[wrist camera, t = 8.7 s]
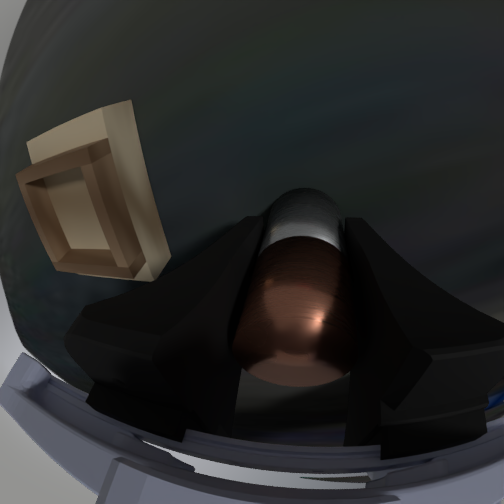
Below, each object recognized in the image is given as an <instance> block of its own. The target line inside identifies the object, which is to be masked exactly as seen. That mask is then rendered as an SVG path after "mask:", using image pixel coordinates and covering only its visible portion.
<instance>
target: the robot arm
mask: <svg viewBox="0 0 504 504" xmlns="http://www.w3.org/2000/svg"><path fill="white" fill-rule="evenodd" d="M263 236H264V223H263V216H247V217H245V218H244V219H243V220H241V221H240V222H239V223H238V224H236V225H235V226H234V227H233V228H232V229H231V230H229V231H228V232H227V233H226V234H224V235H223V236H222V237H221V238H220V239H218V240H217V241H216V242H214V243H213V244H212V245H210V246H209V247H208V248H206V249H205V250H204V251H202V252H201V253H200V254H198V255H197V256H195V257H194V258H193V259H191V260H189V261H188V262H186V263H185V264H183V265H181V266H180V267H178V268H176V269H175V270H173V271H171V272H169V273H167V274H165V275H163V276H161V277H159V278H157V279H155V280H154V281H152V282H150V283H147V284H145V285H143V286H141V287H138V288H136V289H134V290H131V291H129V292H126V293H124V294H121V295H118V296H115V297H112V298H109V299H106V300H103V301H100V302H97V303H94V304H90V305H86V306H85V307H84V308H83V310H82V311H81V313H80V314H79V316H78V317H77V318H76V320H75V321H74V323H73V324H72V326H71V327H70V329H69V330H68V332H67V333H66V335H65V336H64V344H65V347H66V349H67V351H68V353H69V354H70V355H71V357H72V358H73V359H74V360H75V362H76V363H77V364H78V365H79V366H80V367H81V368H82V369H83V370H84V371H85V372H86V373H87V375H88V376H89V377H90V378H91V379H92V380H93V381H94V382H95V383H94V385H93V387H92V389H91V391H90V393H89V394H88V393H85V392H83V391H81V390H79V389H77V388H75V387H73V386H71V385H69V384H67V383H65V382H63V381H61V380H60V379H58V378H56V377H54V376H52V375H51V373H50V372H49V371H48V370H47V369H46V368H45V367H44V366H43V365H42V364H41V363H40V362H38V361H37V360H36V359H34V358H32V357H30V356H29V355H27V354H26V353H21V355H20V357H19V358H18V359H17V361H16V363H15V364H14V366H13V368H12V369H11V371H10V372H9V374H8V376H7V378H6V379H5V381H4V383H3V384H2V386H1V388H0V405H1V406H2V407H3V408H4V409H5V410H6V412H7V413H8V414H9V415H10V416H11V417H12V418H13V419H14V420H15V421H16V422H17V423H18V424H19V425H20V427H21V428H22V429H23V430H24V431H25V432H26V433H27V434H28V435H29V436H30V437H31V439H32V440H33V441H34V442H35V443H36V444H37V445H38V446H39V447H40V448H41V449H42V450H43V451H44V452H45V453H46V454H48V455H49V456H50V457H51V458H52V459H53V460H54V461H55V462H56V463H57V464H59V466H61V467H62V468H63V469H64V470H65V471H67V472H68V473H69V474H70V475H71V476H73V477H74V478H75V479H76V480H78V481H79V482H80V483H81V484H83V485H84V486H85V487H87V488H88V489H89V490H91V491H92V492H94V493H95V494H96V495H98V498H97V501H96V504H501V500H502V499H504V417H501V418H499V419H496V420H493V421H490V422H487V423H486V418H485V413H484V408H486V407H487V406H488V404H489V401H488V396H487V393H488V392H489V391H490V390H491V389H492V388H493V387H494V386H495V385H496V384H497V383H498V382H499V381H500V380H501V379H502V378H503V377H504V323H503V322H501V321H499V320H497V319H495V318H492V317H490V316H488V315H486V314H484V313H482V312H480V311H478V310H476V309H474V308H473V307H471V306H469V305H467V304H466V303H464V302H462V301H460V300H459V299H457V298H455V297H454V296H452V295H450V294H449V293H447V292H446V291H445V290H443V289H442V288H440V287H439V286H437V285H436V284H434V283H433V282H431V281H430V280H429V279H427V278H426V277H425V276H423V275H422V274H421V273H420V272H418V271H417V270H416V269H415V268H413V267H412V266H411V265H410V264H409V263H407V262H406V261H405V260H404V259H403V258H402V257H401V256H400V255H399V254H397V253H396V252H395V251H394V250H393V249H392V248H391V247H390V246H389V245H388V244H387V243H386V242H385V241H384V240H383V239H382V238H381V237H380V236H379V235H378V234H377V233H376V232H375V231H374V230H373V229H372V228H371V227H370V226H369V225H368V224H367V222H366V221H365V220H363V219H362V218H345V231H344V236H345V242H346V248H347V254H348V261H349V268H350V275H351V282H352V290H353V299H354V308H355V318H356V329H357V341H358V359H357V362H356V364H355V366H354V367H353V368H352V369H351V370H350V388H349V403H348V414H347V423H346V432H345V439H344V446H343V447H309V446H290V445H278V444H268V443H260V442H252V441H245V440H239V439H233V438H231V434H232V426H233V419H234V412H235V405H236V399H237V393H238V387H239V381H240V375H241V369H242V367H241V366H240V365H239V364H238V363H237V361H236V360H235V358H234V355H233V352H232V345H233V341H234V338H235V334H236V331H237V327H238V324H239V320H240V317H241V314H242V310H243V307H244V303H245V300H246V296H247V293H248V289H249V286H250V282H251V279H252V275H253V272H254V268H255V265H256V261H257V258H258V254H259V250H260V247H261V243H262V240H263ZM142 440H143V441H146V442H149V443H151V444H154V445H157V446H160V447H163V448H166V449H169V450H172V451H176V452H179V453H183V454H186V455H190V456H194V457H198V458H201V459H206V460H210V461H215V462H219V463H224V464H229V465H235V466H240V467H246V468H253V469H260V470H269V471H278V472H290V473H312V474H340V473H361V472H367V474H368V476H369V477H370V479H371V480H372V481H369V482H367V483H366V488H363V489H336V490H335V489H297V488H285V487H273V486H265V485H257V484H250V483H243V482H238V481H232V480H227V479H222V478H217V477H212V476H208V475H204V474H199V473H195V472H194V471H195V468H194V467H193V466H191V465H189V464H186V463H184V462H182V461H180V460H178V459H176V458H175V457H173V456H172V455H171V454H170V453H169V452H166V451H164V450H161V449H159V448H156V447H154V446H152V445H149V444H147V443H145V442H143V441H142Z"/></svg>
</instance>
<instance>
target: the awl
mask: <svg viewBox="0 0 504 504" xmlns="http://www.w3.org/2000/svg"><path fill="white" fill-rule="evenodd" d="M232 352H233V355H234V358H235V360H236V361H237V363H238V364H239V365H240V366H241V367H242V368H243V369H244V370H246V371H247V372H249V373H250V374H252V375H254V376H255V377H257V378H260V379H262V380H265V381H267V382H271V383H274V384H279V385H285V386H295V387H305V386H316V385H321V384H325V383H329V382H332V381H334V380H337V379H339V378H341V377H342V376H344V375H345V374H347V373H348V372H349V371H350V370H351V369H352V368H353V367H354V366H355V364H356V362H357V359H358V341H357V329H356V318H355V308H354V299H353V290H352V282H351V275H350V268H349V261H348V254H347V248H346V242H345V236H344V231H343V225H342V220H341V214H340V211H339V208H338V206H337V205H336V203H335V202H334V201H333V200H332V198H330V197H329V196H328V195H326V194H325V193H323V192H321V191H319V190H316V189H311V188H298V189H293V190H290V191H288V192H286V193H284V194H283V195H281V196H280V197H279V198H278V199H277V200H276V201H275V203H274V204H273V206H272V208H271V211H270V215H269V219H268V222H267V226H266V229H265V233H264V236H263V240H262V243H261V247H260V250H259V254H258V258H257V261H256V265H255V268H254V272H253V275H252V279H251V282H250V286H249V289H248V293H247V296H246V300H245V303H244V307H243V310H242V314H241V317H240V320H239V324H238V327H237V331H236V334H235V338H234V341H233V345H232Z"/></svg>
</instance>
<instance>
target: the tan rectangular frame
mask: <svg viewBox="0 0 504 504" xmlns="http://www.w3.org/2000/svg"><path fill="white" fill-rule="evenodd" d="M27 147H28V150H29V154H30V158H31V161H32V165H30V166H29V167H27V168H25V169H24V170H22V171H20V172H19V173H17V174H16V178H17V181H18V184H19V187H20V190H21V192H22V195H23V198H24V201H25V203H26V206H27V208H28V211H29V213H30V216H31V218H32V221H33V223H34V225H35V227H36V230H37V232H38V234H39V236H40V239H41V241H42V243H43V245H44V247H45V249H46V251H47V253H48V255H49V257H50V259H51V261H52V263H53V265H54V267H55V268H56V270H57V271H64V272H72V273H77V274H81V275H90V276H99V277H108V278H118V279H128V280H138V281H149V282H152V281H154V280H155V279H157V278H158V276H159V275H160V273H161V271H162V270H163V268H164V267H165V265H166V264H167V262H168V261H169V259H170V258H171V254H170V251H169V248H168V244H167V241H166V238H165V235H164V231H163V228H162V225H161V221H160V218H159V215H158V211H157V208H156V204H155V200H154V197H153V193H152V189H151V186H150V182H149V178H148V174H147V170H146V166H145V162H144V158H143V153H142V149H141V145H140V140H139V136H138V131H137V126H136V121H135V117H134V111H133V106H132V101H131V100H128V101H124V102H120V103H116V104H113V105H109V106H106V107H102V108H99V109H97V110H94V111H92V112H89V113H87V114H84V115H82V116H80V117H77V118H75V119H73V120H70V121H68V122H66V123H64V124H62V125H60V126H57V127H55V128H53V129H51V130H49V131H47V132H45V133H43V134H41V135H40V136H38V137H36V138H34V139H32V140H30V141H29V142H27Z"/></svg>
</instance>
